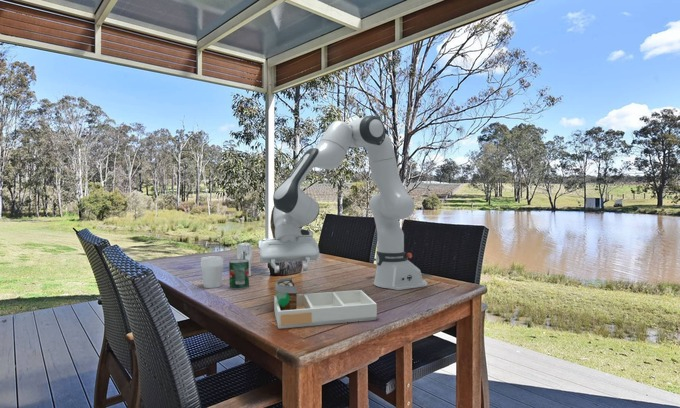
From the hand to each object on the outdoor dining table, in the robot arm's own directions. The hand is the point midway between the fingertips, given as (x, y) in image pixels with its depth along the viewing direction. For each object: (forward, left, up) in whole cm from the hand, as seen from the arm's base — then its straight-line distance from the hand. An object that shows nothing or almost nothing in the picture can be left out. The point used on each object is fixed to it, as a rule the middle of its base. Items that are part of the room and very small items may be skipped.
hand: (291, 271), depth 125 cm
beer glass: (+16, -56, -14) cm, 60 cm away
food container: (+3, +6, -12) cm, 14 cm away
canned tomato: (+18, -36, -14) cm, 42 cm away
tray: (-9, +7, -13) cm, 18 cm away
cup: (+29, -40, -14) cm, 51 cm away
